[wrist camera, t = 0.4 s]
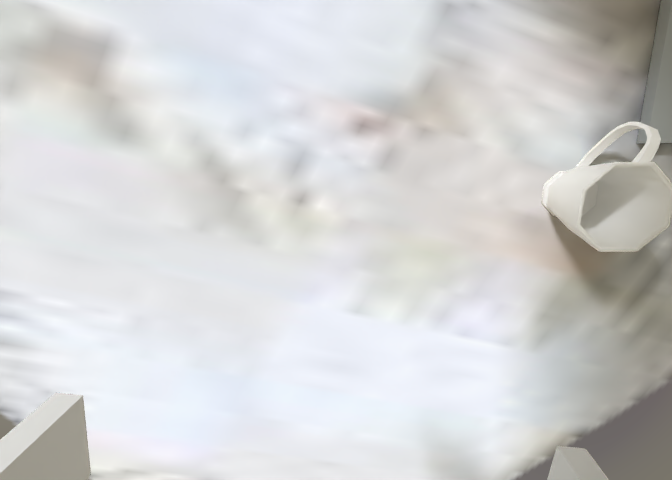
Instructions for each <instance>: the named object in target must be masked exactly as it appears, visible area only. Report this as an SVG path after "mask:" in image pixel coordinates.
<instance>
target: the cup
mask: <svg viewBox="0 0 672 480" xmlns="http://www.w3.org/2000/svg"><path fill="white" fill-rule="evenodd" d="M634 129H644V130H645V132H646V135H647V141H646V144H645V145H644V147H643V148H642V149H641V151H640V152H639V154H638V155H637V156H636V157H635V159H634V160H633V161H632V162H613V163H605V164H599V165H592V166H589V165H590V164H591V163H592V161H593V160H594V159H595V158H596V157H597V156H598V155H599V154H600V153H602V152H603V151H604V150H605V149H606V148H607V147H608V146H609V145H610V144H612V143H613V142H614V141H615V140H616V139H618V138H619V137H620V136H622V135H623V134H625V133H626V132H629V131H632V130H634ZM660 141H661V138H660V135H659V132H658V130H657V129H655V128H653V127H650V126H648V125H646V124H643V123H640V122H627V123H625V124H622V125H619V126H618V127H616V128H615V129H614V130H612V131H611V132H609V133H608V134H607V135H606V136H605V137H604V138H602V139H601V140H600V141H599V142H598V143H597V144H596V145H595V146H594V147H593V148H592V149H591V150H590V151H589V152H588V153H587V154H586V155H585V156H584V157H583V158H582V159H581V161H580V162H579V163H578V164H577V166H576V167H575V168H574V169H571V170H568V171H558V172H557V173H556V174H555V175H554V176H553V177H552V178H550V179H549V180H548V181H547V182H546V183H545V184H544V185H543V193H542V200H541V203H542V204H543V205H544V206H545V207H546V209H547V210H548V211H549V212H550V213H551V214H552V215H553V216H557V217H558V218H559V220H560V221H561V222H562V223H563V224H564V225H565V226H566V227H567V228H568V229H569V230H570V231H572V232H573V233H575V234H576V235H577V236H579V237H580V238H582V239H583V240H584V241H585V242H587V243H588V244H589V245H591V246H592V247H593V248H595V249H596V250H597V251H599V252H637V251H638V250H640V249H641V248H642V247H644V246H645V245H646V244H647V243H649V242H650V241H651V240H653V239H654V238H655V237H656V236H658V235H659V234H660V233H662V232H663V231H664V230H665V229H667V228H668V227H669V224H670V220H671V215H672V182H671V181H670V180H669V179H668V177H667V176H666V175H665V174H664V173H663V171H662V170H661V169H660V168H659V166H658V165H657V164H656V163H655V162H651V161H652V159H653V157H654V155H655V154H656V152H657V150H658V148H659V145H660Z"/></svg>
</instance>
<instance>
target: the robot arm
mask: <svg viewBox="0 0 672 480" xmlns="http://www.w3.org/2000/svg"><path fill="white" fill-rule="evenodd" d="M90 475H91V470H90V461H89V451H88V441H87V431H86V421H85V411H84V401H83V395H74V394H65V393H55V394H54V395H52V396H51V397H50V398H49V399H48V400H47V401H45V402H44V403H43V404H42V405H41V406H39V407H38V408H37V409H36V410H35V411H34V412H32V413H31V414H30V415H29V416H28V417H26V418H25V419H24V420H23V421H22V422H21V423H19V424H18V425H17V426H16V427H15V428H14V429H13V430H11V431H10V432H9V433H8V434H7V435H5V436H4V437H3V438H2V439H1V440H0V480H87V479H88V478H89V476H90ZM547 480H609V479H608V478H607V476H606V475H605V474H604V473H603V471H602V470H601V469H600V467H599V466H598V464H597V463H596V462H595V460H594V459H593V458H592V457H591V455H590V454H589V453H588V451H587V450H586V449H584V448H574V447H565V446H557V448H556V451H555V455H554V458H553V462H552V465H551V469H550V472H549V475H548V479H547Z"/></svg>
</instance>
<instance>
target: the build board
mask: <svg viewBox="0 0 672 480" xmlns="http://www.w3.org/2000/svg"><path fill="white" fill-rule="evenodd" d="M640 123H643V124H646V125H648V126H650V127H653V128H655V129H657V130H658V132H659V135H660V138H661V141H660V143H672V0H661V4H660V9H659V15H658V21H657V27H656V33H655V38H654V44H653V50H652V56H651V62H650V67H649V73H648V79H647V85H646V91H645V96H644V102H643V108H642V114H641V120H640ZM646 141H647V135H646V132H645V130H644V129H639V131H638V137H637V143H646Z"/></svg>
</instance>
